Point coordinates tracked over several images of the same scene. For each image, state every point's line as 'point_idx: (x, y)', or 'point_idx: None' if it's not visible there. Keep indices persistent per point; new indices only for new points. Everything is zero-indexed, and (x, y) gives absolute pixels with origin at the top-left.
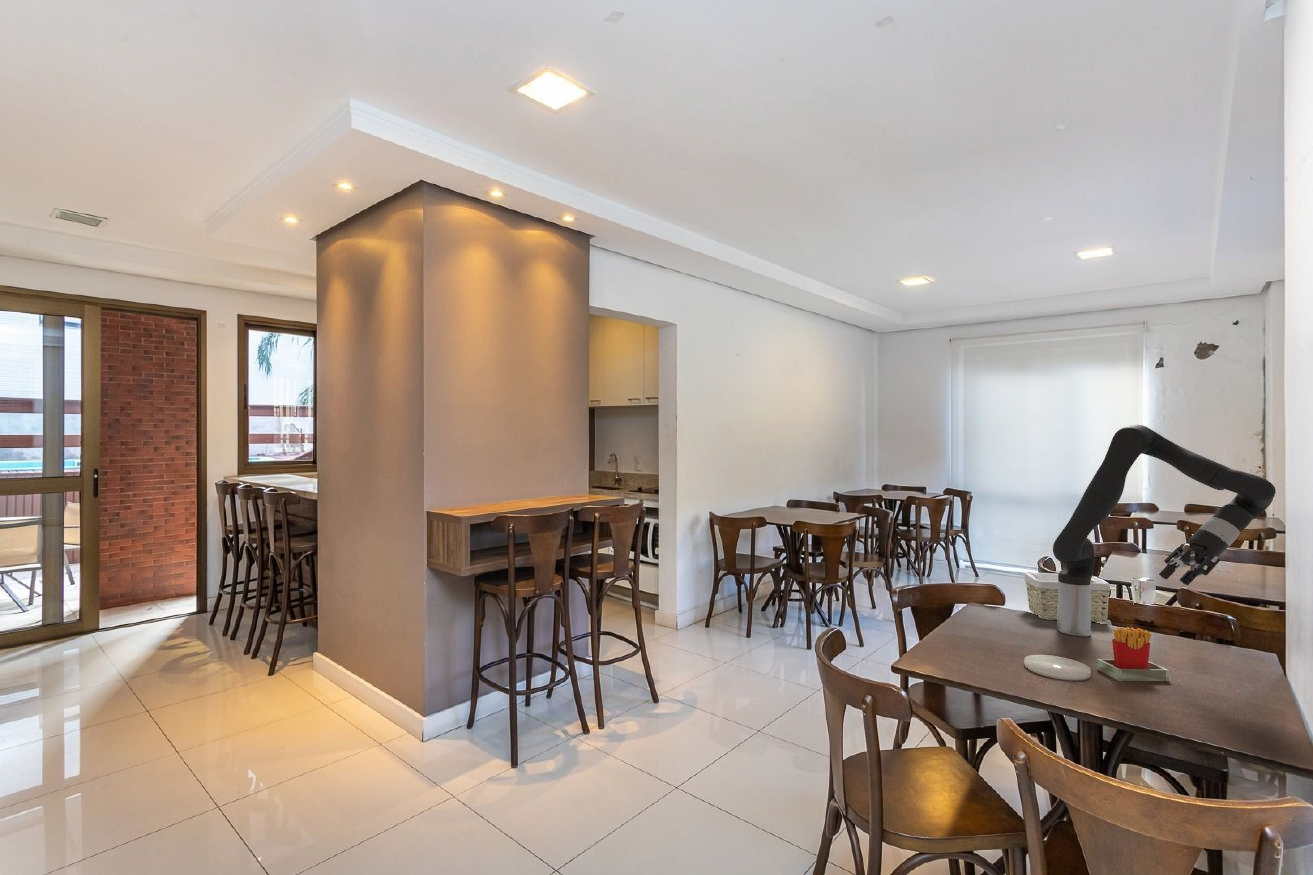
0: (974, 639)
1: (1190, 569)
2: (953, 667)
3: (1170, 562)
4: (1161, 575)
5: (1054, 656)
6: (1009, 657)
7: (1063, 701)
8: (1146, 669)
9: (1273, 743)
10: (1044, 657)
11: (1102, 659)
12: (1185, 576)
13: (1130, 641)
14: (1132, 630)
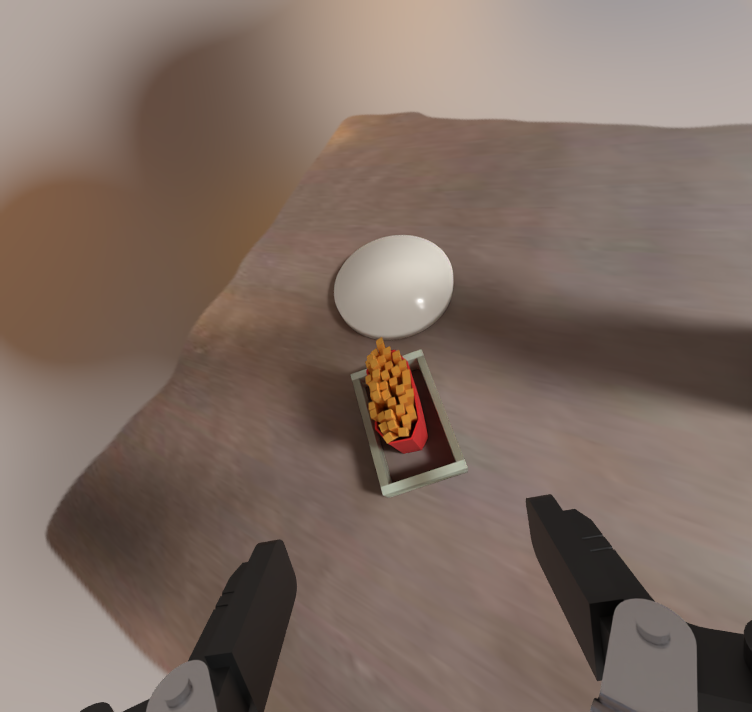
0: (547, 170)
1: (199, 664)
2: (353, 160)
3: (630, 645)
4: (528, 506)
5: (447, 284)
6: (441, 223)
7: (240, 279)
8: (372, 438)
9: (101, 540)
10: (431, 266)
11: (420, 360)
12: (244, 584)
13: (367, 384)
14: (396, 390)
